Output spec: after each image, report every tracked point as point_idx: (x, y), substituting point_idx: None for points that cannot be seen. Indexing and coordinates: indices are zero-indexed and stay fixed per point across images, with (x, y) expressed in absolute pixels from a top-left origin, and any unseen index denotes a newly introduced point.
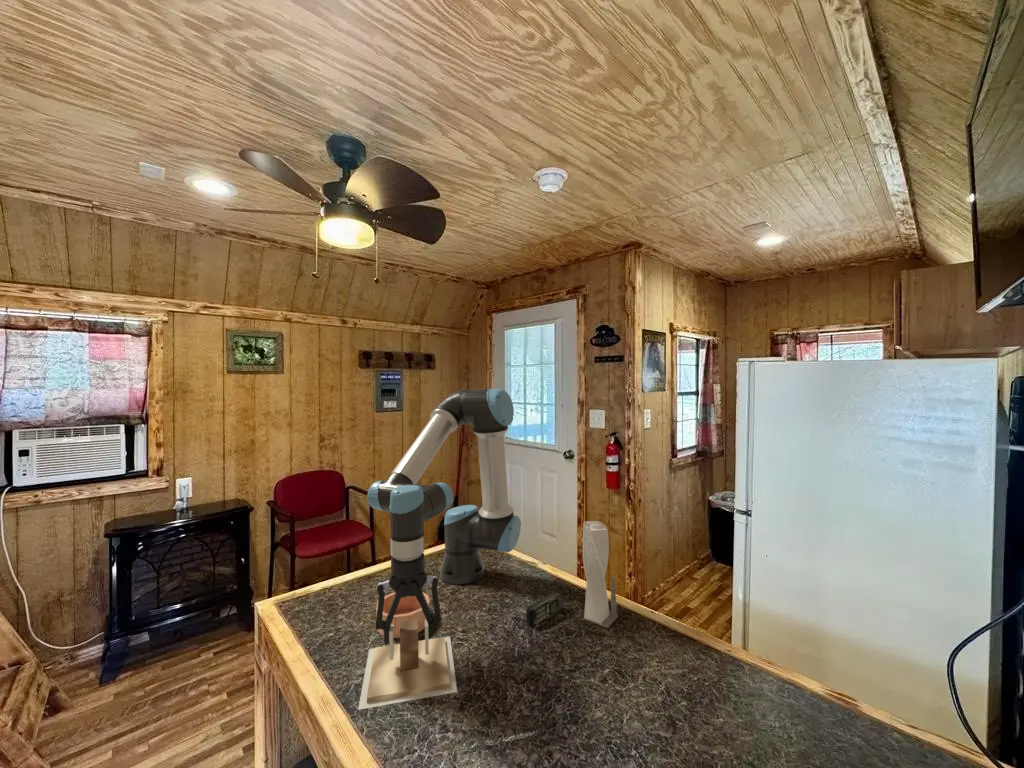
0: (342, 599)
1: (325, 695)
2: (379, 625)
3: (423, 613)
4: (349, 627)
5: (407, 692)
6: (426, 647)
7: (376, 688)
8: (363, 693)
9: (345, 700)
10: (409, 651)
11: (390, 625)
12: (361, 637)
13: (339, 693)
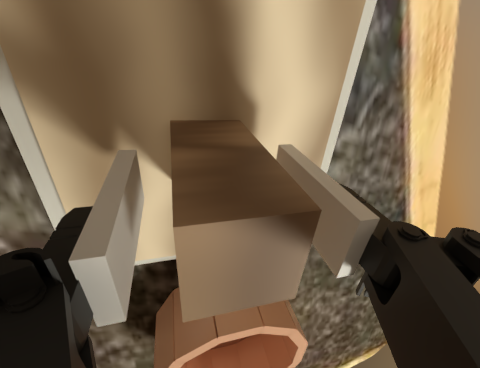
0: (326, 350)
1: (423, 98)
2: (477, 249)
3: (170, 346)
4: (328, 297)
5: None
6: (124, 165)
7: (326, 46)
8: (353, 58)
9: (391, 57)
10: (218, 147)
11: (404, 252)
12: (313, 273)
13: (395, 95)
